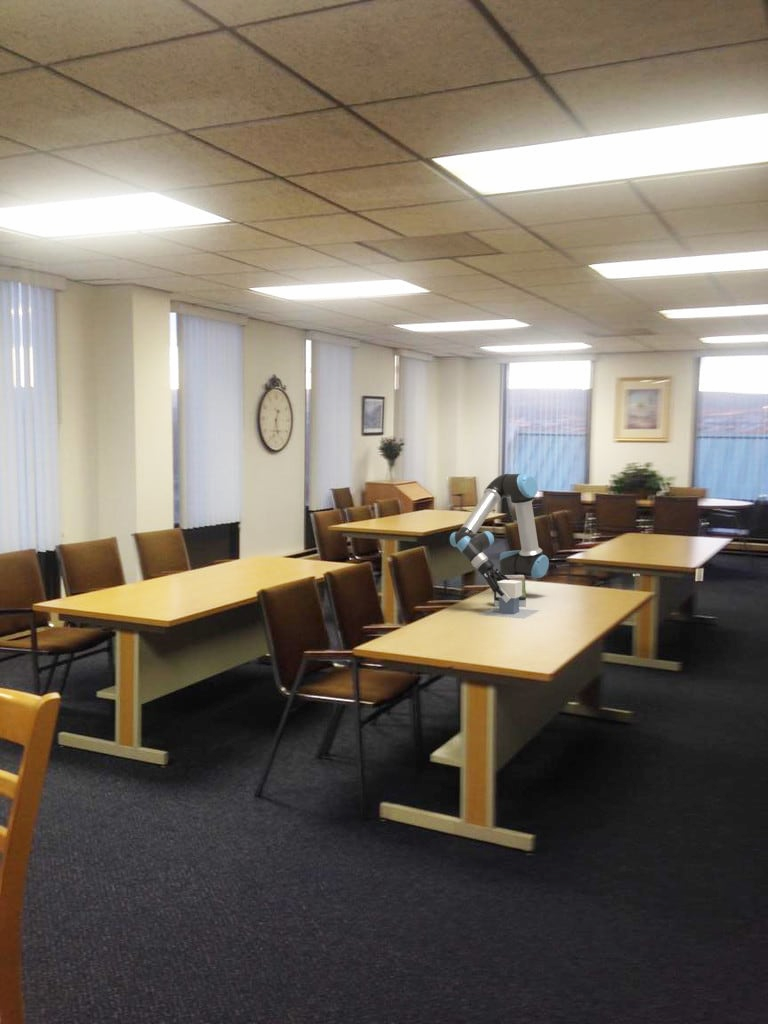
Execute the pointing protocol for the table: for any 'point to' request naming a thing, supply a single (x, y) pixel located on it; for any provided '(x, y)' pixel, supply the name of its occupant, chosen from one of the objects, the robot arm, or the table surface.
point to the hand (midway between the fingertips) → (513, 598)
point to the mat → (521, 614)
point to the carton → (509, 606)
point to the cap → (510, 588)
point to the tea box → (522, 598)
